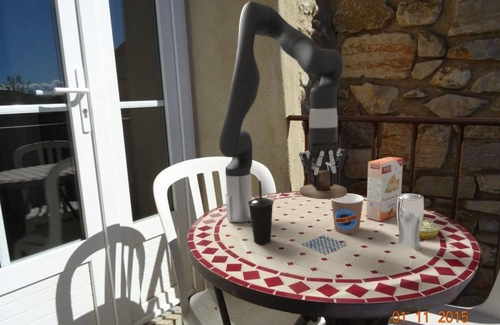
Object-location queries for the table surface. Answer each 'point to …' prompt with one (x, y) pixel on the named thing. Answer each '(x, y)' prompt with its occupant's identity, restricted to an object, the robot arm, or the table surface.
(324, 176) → the walnut lid
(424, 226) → the decorated donut
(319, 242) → the woven mat
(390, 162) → the cracker box
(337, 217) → the coffee cup
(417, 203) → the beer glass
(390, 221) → the table surface
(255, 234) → the drinking cup
